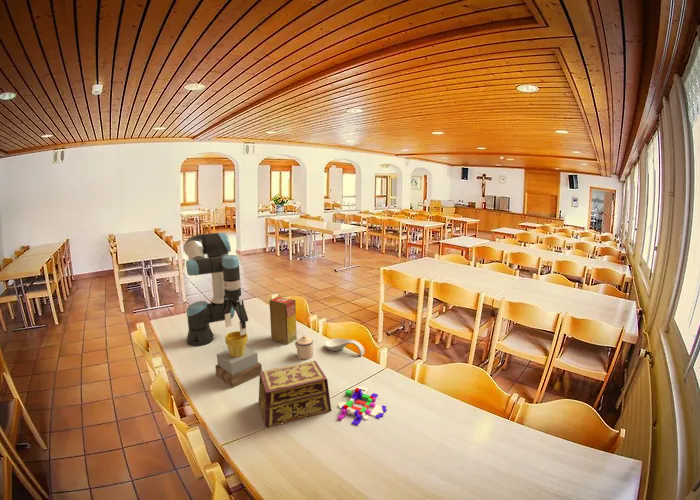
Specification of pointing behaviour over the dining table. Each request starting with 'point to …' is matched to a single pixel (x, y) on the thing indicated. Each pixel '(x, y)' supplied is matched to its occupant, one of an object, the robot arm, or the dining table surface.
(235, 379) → the walnut base block
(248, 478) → the dining table surface
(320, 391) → the decorative box
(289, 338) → the food packaging
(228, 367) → the grey top block
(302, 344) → the teacup with lid
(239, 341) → the plant pot
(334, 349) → the spoon rest
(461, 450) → the dining table surface
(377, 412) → the building block set
